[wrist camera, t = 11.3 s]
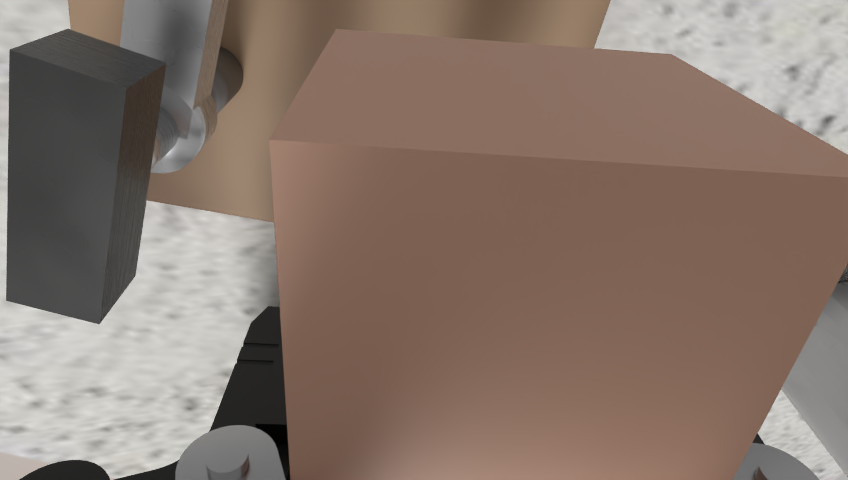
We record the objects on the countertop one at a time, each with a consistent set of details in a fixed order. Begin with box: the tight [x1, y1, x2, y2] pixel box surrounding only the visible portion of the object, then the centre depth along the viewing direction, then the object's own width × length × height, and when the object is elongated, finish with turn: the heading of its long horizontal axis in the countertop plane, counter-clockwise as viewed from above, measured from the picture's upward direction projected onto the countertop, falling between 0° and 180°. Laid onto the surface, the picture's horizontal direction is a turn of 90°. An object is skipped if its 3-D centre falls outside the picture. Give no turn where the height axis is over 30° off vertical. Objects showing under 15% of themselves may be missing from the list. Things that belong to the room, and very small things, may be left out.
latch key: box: [6, 0, 229, 324], centre depth 16 cm, size 14×3×8 cm, turn 159°
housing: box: [68, 0, 610, 222], centre depth 25 cm, size 22×14×8 cm, turn 78°
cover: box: [269, 29, 848, 480], centre depth 10 cm, size 6×11×5 cm, turn 176°
